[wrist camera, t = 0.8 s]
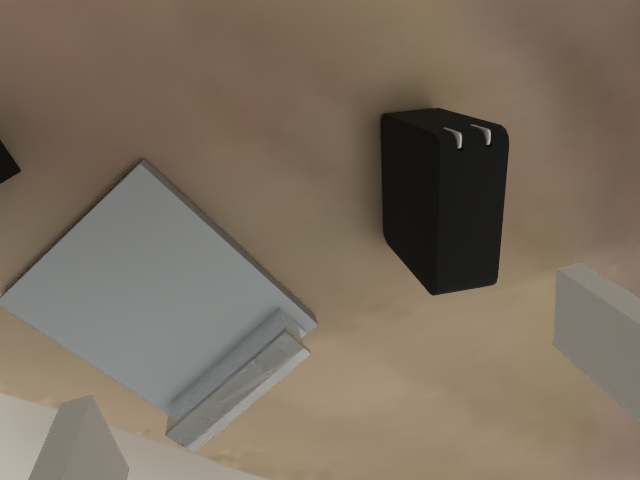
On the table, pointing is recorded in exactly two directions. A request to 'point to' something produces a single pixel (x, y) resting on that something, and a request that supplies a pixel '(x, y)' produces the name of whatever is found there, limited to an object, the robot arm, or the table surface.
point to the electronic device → (444, 196)
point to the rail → (236, 381)
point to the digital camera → (7, 165)
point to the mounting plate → (149, 289)
